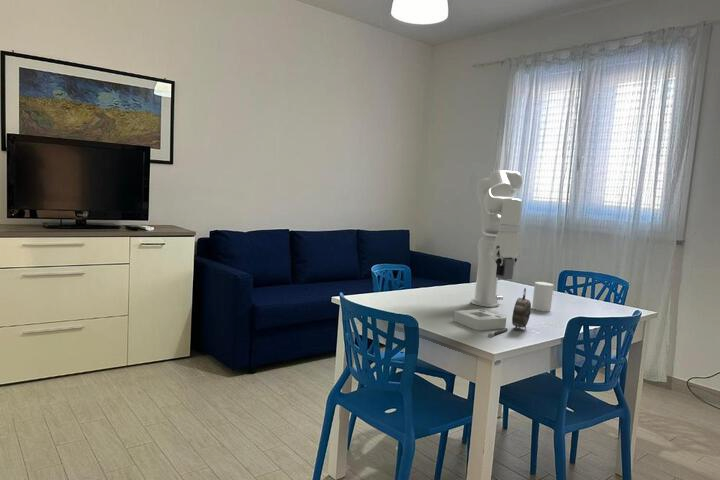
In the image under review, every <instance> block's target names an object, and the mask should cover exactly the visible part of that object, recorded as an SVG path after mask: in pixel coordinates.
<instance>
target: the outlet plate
mask: <svg viewBox="0 0 720 480" xmlns="http://www.w3.org/2000/svg"><path fill="white" fill-rule="evenodd" d="M453 312H454V313H453V322H455V323H458V324H461V325H463V326H465V327H468V328H471V329H473V330H475V331H488V330H499V329H500V330H502V329H505V328H506V327H507V325H506V323H507V317H505V316H502V315H500V314H496V313H493V312H490V311H487V310H485V309H482V308H479V309H467V310H466V309H462V310H454V311H453Z"/></svg>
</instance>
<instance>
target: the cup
mask: <svg viewBox="0 0 720 480" xmlns="http://www.w3.org/2000/svg"><path fill="white" fill-rule="evenodd" d="M554 286H555V285H554V284H553V283H550V282H545V281H534V288H533V294H532V295H533V297H532V303H531V309H533V310H535V309H536V310H535V311H539V310H541V311H540V312H550V310H551V309H552V303H553V302H552V301H553V294H554V293H553V292H554Z"/></svg>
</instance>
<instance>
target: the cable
mask: <svg viewBox="0 0 720 480" xmlns="http://www.w3.org/2000/svg"><path fill="white" fill-rule="evenodd" d="M508 330H509V328H508V327H505V328H501V329H500V330H497V331H495V332H493V331H492V332H488V334H487V337H489V338H494V337H495V336H497V335H499V334H502V333H504V332H507V331H508Z"/></svg>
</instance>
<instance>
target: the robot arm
mask: <svg viewBox="0 0 720 480" xmlns="http://www.w3.org/2000/svg"><path fill="white" fill-rule="evenodd" d="M522 185H523V177H522V174H521V173H520V172H519V171H517V170H516V171H514V170H504V169H497V170H493V171H491V173H490V174H489V175H488V177H483V178H480V179H479V180H478V182H477V186H476V194H477V195H476V196H477V199H478V202H479V206H480V211H481V212H480V222H481V223H480V227H481V232H482V234H483V235H484V236H482V237H480V238H479V240H478V242H477V251H478V255H477V257H478V259H477V272H476V283H475V293H474V298H472V299H470V303H471V304H473V305H476V306H479V307H486V308H488V307H489V308H495V307H496V308H497V307H498V306H499V305H500V304H499V302H498V301H503V299H504V296H503V295H498V294H497V290H498V282H499V281H498V279H499V278H497V277H496V274H497V275H500V276H503V271H504V266H503V263H504V259H505V258H510V259H514V266H515V265H516V263H517V261H518V260H519V259H520V258H521V257H520V252H519V251H520V232H519V231H520V229H521V228H520V226H521V225H520V224H521V215H522V206H523V201H522V199H520V198H516V197H514V196H515V195H516V194H517V193H518V192H519V191H520V189H521V187H522ZM500 259H501V261H500Z"/></svg>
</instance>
